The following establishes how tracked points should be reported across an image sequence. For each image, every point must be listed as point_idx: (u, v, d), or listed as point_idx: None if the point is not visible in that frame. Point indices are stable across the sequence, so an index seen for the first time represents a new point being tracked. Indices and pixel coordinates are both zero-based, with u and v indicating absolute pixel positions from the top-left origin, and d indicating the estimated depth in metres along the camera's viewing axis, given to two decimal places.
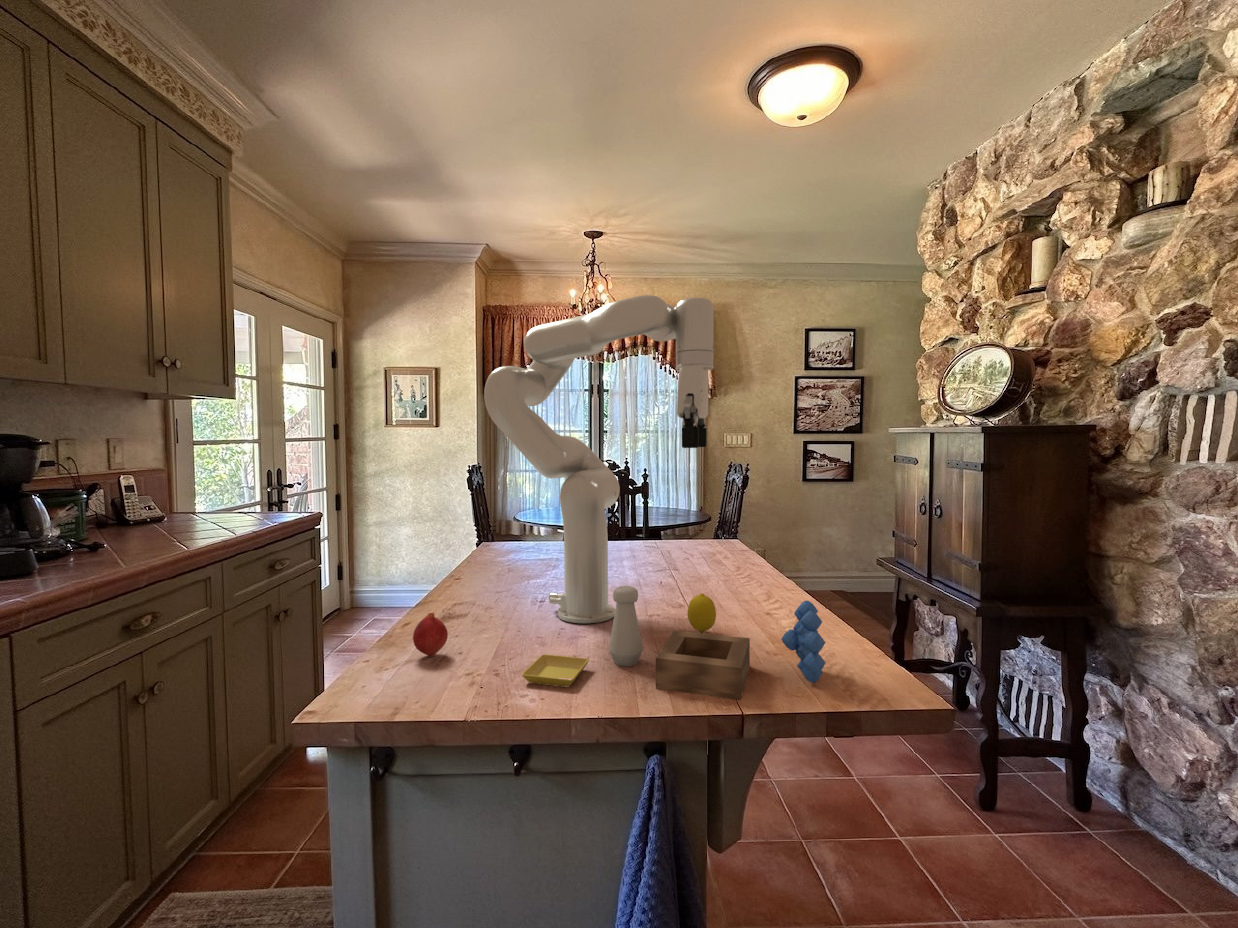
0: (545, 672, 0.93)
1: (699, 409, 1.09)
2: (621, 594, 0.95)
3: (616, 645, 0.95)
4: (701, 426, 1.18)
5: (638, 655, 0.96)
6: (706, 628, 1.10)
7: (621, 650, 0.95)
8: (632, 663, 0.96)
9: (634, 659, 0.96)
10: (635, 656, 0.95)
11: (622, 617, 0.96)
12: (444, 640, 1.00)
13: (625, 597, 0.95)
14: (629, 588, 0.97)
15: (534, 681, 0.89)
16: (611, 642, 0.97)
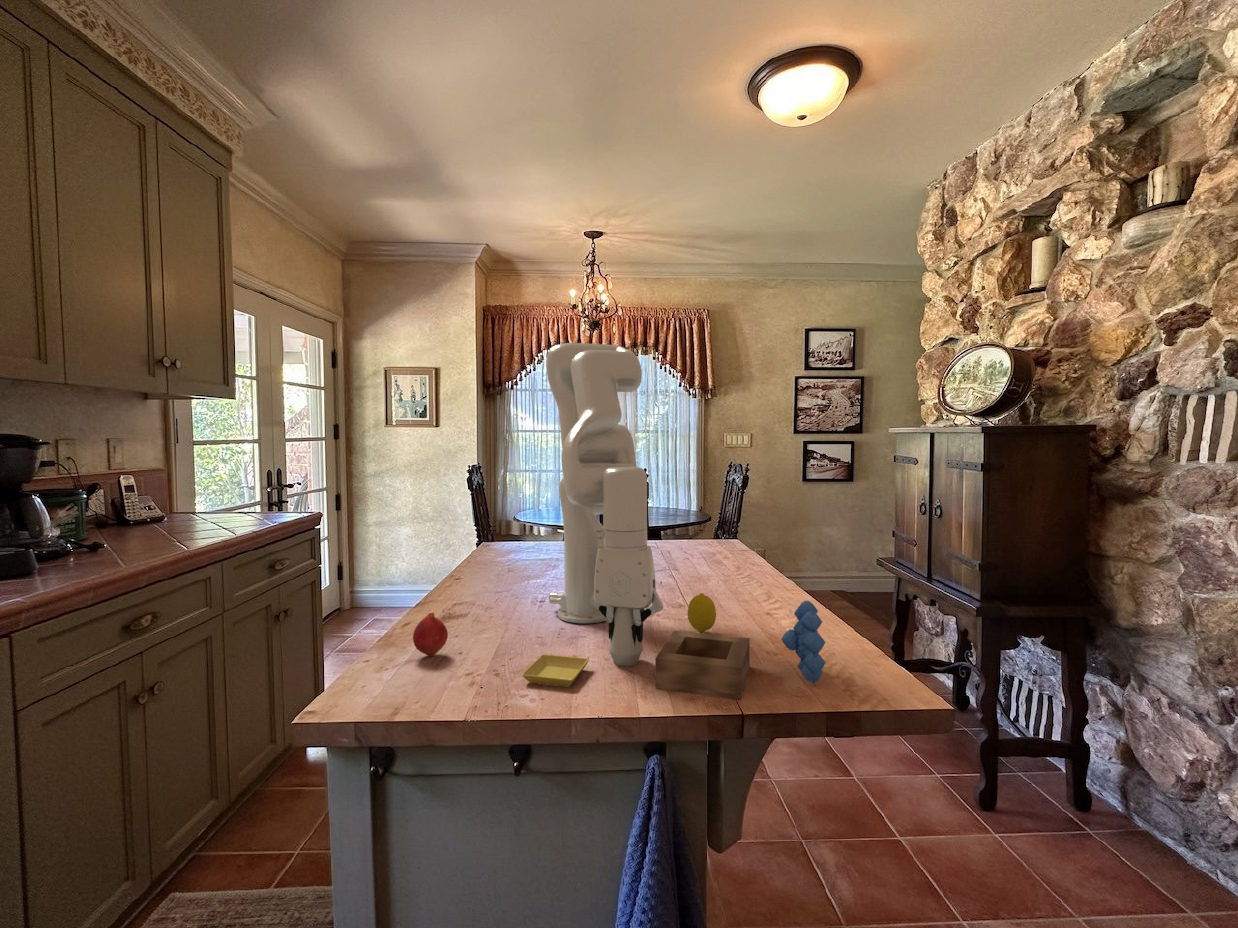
0: (545, 672, 0.93)
1: None
2: None
3: (615, 645, 0.95)
4: None
5: (638, 655, 0.96)
6: (706, 628, 1.10)
7: (621, 650, 0.95)
8: (632, 663, 0.96)
9: (634, 659, 0.96)
10: (635, 656, 0.95)
11: (622, 617, 0.96)
12: (444, 640, 1.00)
13: None
14: None
15: (534, 681, 0.89)
16: (611, 642, 0.97)
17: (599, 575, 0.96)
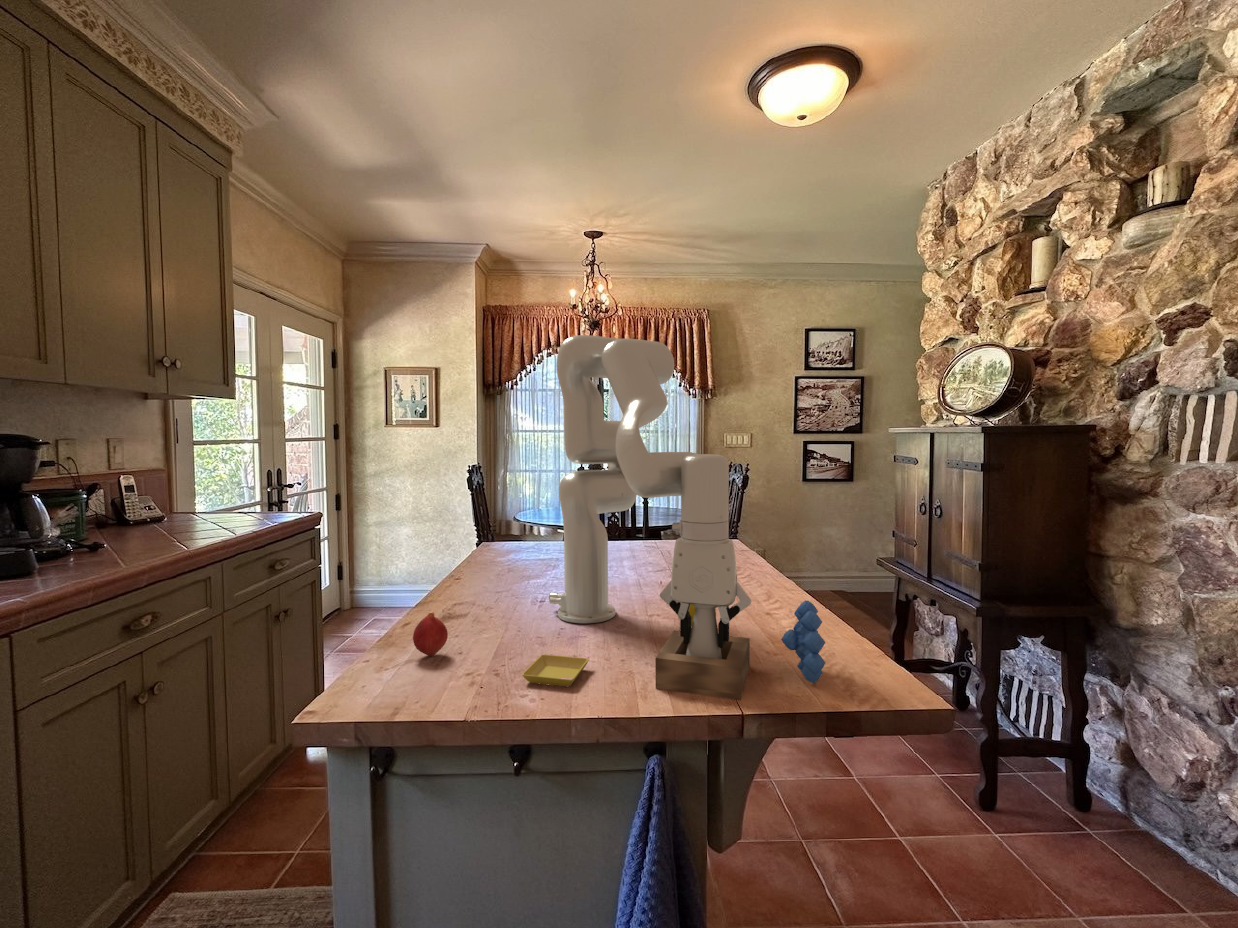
0: (545, 672, 0.93)
1: None
2: None
3: (695, 653, 0.89)
4: (688, 614, 0.92)
5: None
6: None
7: None
8: None
9: None
10: None
11: (702, 623, 0.90)
12: (444, 640, 1.00)
13: None
14: None
15: (534, 681, 0.89)
16: (689, 650, 0.90)
17: (677, 570, 0.89)
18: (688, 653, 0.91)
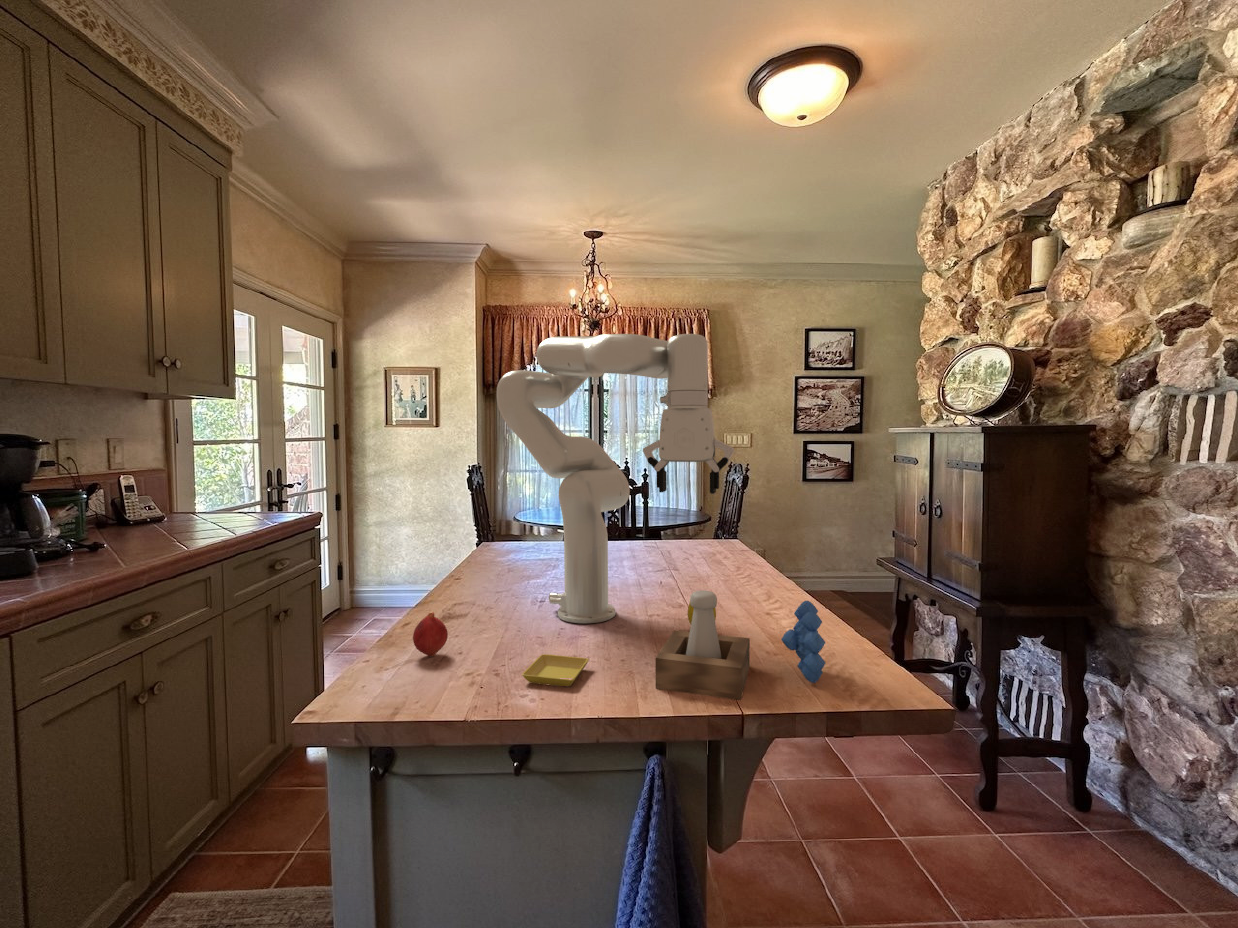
0: (545, 672, 0.93)
1: None
2: (700, 599, 0.89)
3: (695, 654, 0.89)
4: (664, 469, 1.09)
5: None
6: None
7: None
8: None
9: None
10: None
11: (701, 623, 0.89)
12: (444, 640, 1.00)
13: (705, 602, 0.89)
14: (708, 593, 0.90)
15: (534, 681, 0.89)
16: (688, 651, 0.90)
17: (664, 433, 1.05)
18: (687, 654, 0.91)
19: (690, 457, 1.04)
